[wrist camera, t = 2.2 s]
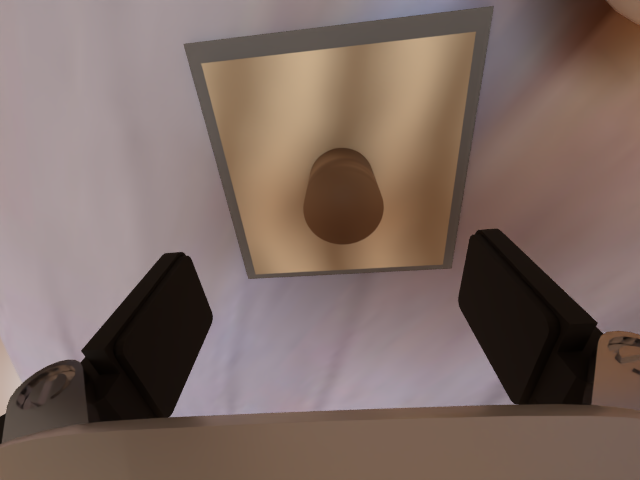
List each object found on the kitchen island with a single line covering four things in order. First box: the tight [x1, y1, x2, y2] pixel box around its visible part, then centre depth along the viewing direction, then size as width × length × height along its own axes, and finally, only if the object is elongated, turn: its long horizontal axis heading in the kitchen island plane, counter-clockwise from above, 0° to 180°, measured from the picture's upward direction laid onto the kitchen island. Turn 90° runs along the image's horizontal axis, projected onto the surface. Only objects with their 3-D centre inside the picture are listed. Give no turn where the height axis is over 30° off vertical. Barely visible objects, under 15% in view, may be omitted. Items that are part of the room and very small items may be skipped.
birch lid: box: [201, 32, 476, 274], centre depth 17 cm, size 14×14×5 cm
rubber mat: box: [184, 6, 494, 279], centre depth 19 cm, size 16×16×1 cm
